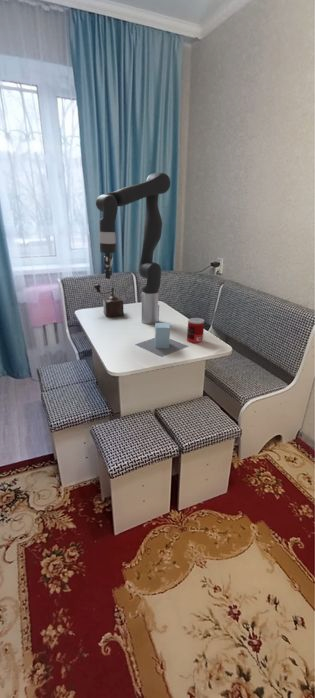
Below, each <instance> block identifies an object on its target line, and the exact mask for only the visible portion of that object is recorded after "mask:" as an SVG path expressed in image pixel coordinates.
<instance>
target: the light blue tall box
mask: <svg viewBox="0 0 315 698" xmlns="http://www.w3.org/2000/svg"><path fill="white" fill-rule="evenodd" d="M170 334H171V327H170V323H169V322H157V323H154V338H155V348H169V340H170V339H171V337H170V336H171V335H170Z"/></svg>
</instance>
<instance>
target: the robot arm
mask: <svg viewBox="0 0 315 698" xmlns="http://www.w3.org/2000/svg"><path fill="white" fill-rule="evenodd" d="M170 188H171V179H170V177H169V175H168V174H166V173H164V172H155V173H151V174H149V175H148V176H147V178H146V181H144V182H141V183H137V184H133V185H129V186H124V187H122V188H120V189H118V190H115V191H111V192H107V193H104V194H100V195H99V196H98V197H97V198H96V200H95V207H96V208H97V209H98V211H100V212H103V214H102V215H103V216H102V218H100V219H99V252H100V253H102V254H104V257H103V265H104V266H103V269H104V272H105V279H108V280H110V279H111V276H112V275H113V268H112V267H113V265H114V263H113V262H114V261H113V260H114V256H113V254H115V253H117V238H116V237H117V235H116V218H117V213H118V207H124V206H125V207H126V206H127V205H129V204H132V203H135V202H137V201H140V200H142V199H144V198H145V211H144V212H145V214H144V225H143V238H142V249H141V255H140V261H139V267H138V268H139V270H138V272H139V275H140V277H141V278H143V279H146V284H145V285H143V286H141V323H143V324H146V325H153V324H154V325H155V323H159V321H160V304H159V290H160V287H161V279H162V268H161V265H160V264H159V263H157V262H153V258H154V257H153V256H154V252H155V249H156V247H158V244H159V242H160V240H161V237H162V232H163V231H162V230H163V221H162V220H163V219H162V216H161V213H160V210H159V195H163V194H165V193H167V192H168V191H169V190H170Z"/></svg>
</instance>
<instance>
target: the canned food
mask: <svg viewBox="0 0 315 698" xmlns="http://www.w3.org/2000/svg"><path fill="white" fill-rule="evenodd" d="M204 329H205V319H203V318H200V317H190V318H188V321H187V333H186V334H187V335H186V341H187V342H188V343H191V344H200V343H202V342H203V341H204V340H203V338H204V331H205V330H204Z"/></svg>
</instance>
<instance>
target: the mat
mask: <svg viewBox="0 0 315 698" xmlns="http://www.w3.org/2000/svg"><path fill="white" fill-rule="evenodd" d="M135 346H137V347H139V348H141V349H143V350H146V351H147V352H150V353H153V354H155V355H156V356H158V357H161V358H163V357H165V356H168V355H170V354H172V353H173V354H174V353H175V352H178V351H180V350H183V349H185V348H188V347H189V345H187V344H184V343H182V342H179V341H176V340H175V339H171V338H170V340H169V348H155V337H154V338H150V339H146V340H144V341H140V342H138V343H135Z"/></svg>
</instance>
